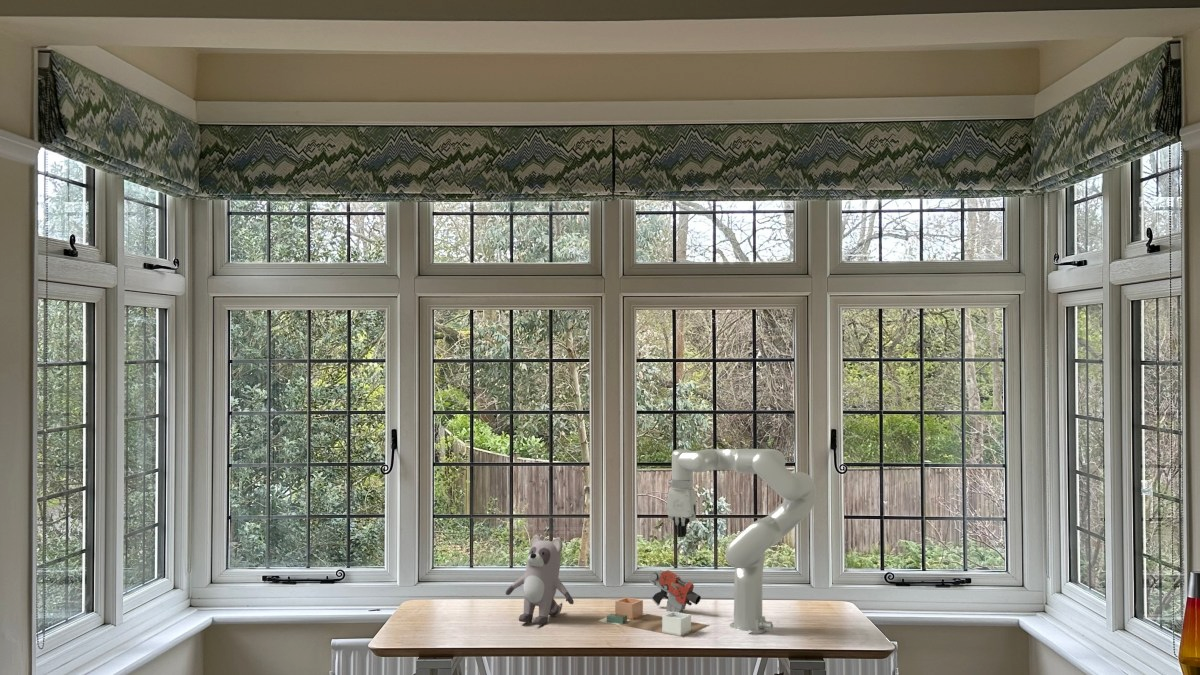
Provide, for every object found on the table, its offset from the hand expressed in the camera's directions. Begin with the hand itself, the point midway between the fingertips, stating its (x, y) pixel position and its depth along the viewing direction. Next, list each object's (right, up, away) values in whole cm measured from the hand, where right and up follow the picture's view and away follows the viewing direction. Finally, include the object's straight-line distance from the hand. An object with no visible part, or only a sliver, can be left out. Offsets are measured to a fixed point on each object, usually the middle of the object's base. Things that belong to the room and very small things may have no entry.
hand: (681, 536), depth 337 cm
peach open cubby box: (-19, -28, -3) cm, 33 cm away
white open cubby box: (-4, -27, -22) cm, 35 cm away
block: (-4, -27, -22) cm, 35 cm away
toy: (-48, -29, -4) cm, 56 cm away
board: (-11, -29, -11) cm, 32 cm away
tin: (-23, -27, -10) cm, 37 cm away
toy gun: (-2, -30, +5) cm, 30 cm away
